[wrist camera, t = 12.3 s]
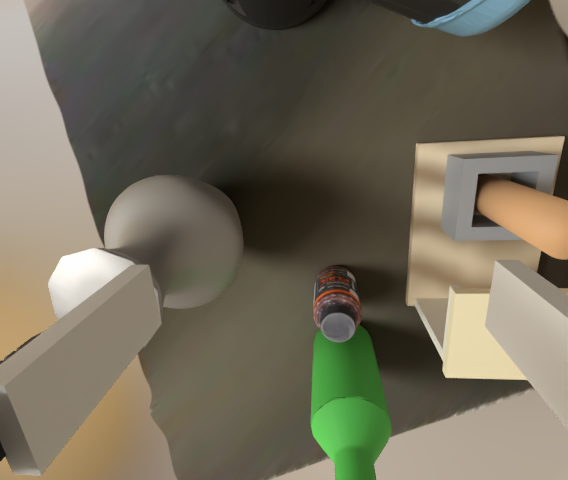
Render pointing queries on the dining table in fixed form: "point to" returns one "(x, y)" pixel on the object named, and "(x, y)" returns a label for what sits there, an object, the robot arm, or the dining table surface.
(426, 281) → the board
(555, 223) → the peg
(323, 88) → the dining table surface
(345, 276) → the supplement bottle
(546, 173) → the socket
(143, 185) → the vase
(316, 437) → the bottle
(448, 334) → the cream shelf stand
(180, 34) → the dining table surface
